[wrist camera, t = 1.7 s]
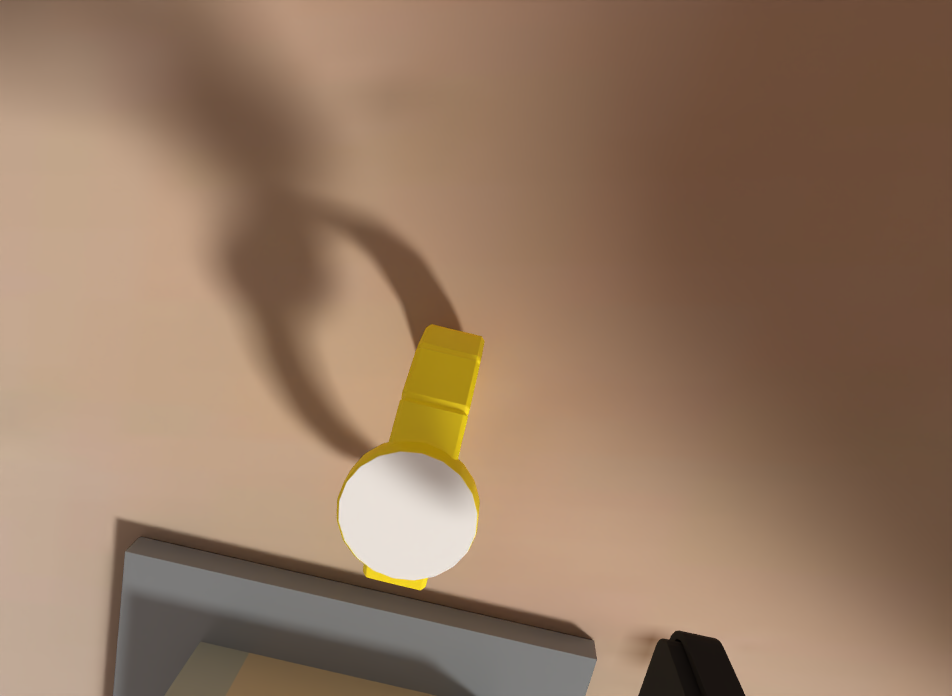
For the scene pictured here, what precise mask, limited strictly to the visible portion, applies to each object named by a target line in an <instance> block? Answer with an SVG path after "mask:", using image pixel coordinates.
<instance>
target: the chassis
mask: <svg viewBox="0 0 952 696" xmlns="http://www.w3.org/2000/svg"><path fill="white" fill-rule="evenodd" d="M596 661H597V657H596V651H595V644H594V641H593V640H589V639H585V638H580V637H576V636H572V635H567V634H563V633H559V632H554V631H550V630H545V629H541V628H537V627H532V626H528V625H524V624H519V623H515V622H511V621H506V620H502V619H497V618H493V617H489V616H484V615H480V614H476V613H471V612H467V611H463V610H458V609H454V608H450V607H445V606H441V605H436V604H432V603H428V602H423V601H419V600H415V599H410V598H406V597H402V596H397V595H393V594H388V593H384V592H380V591H375V590H371V589H367V588H362V587H358V586H354V585H349V584H345V583H340V582H336V581H332V580H327V579H323V578H319V577H314V576H310V575H306V574H301V573H297V572H292V571H288V570H284V569H279V568H275V567H271V566H266V565H262V564H258V563H253V562H249V561H245V560H240V559H236V558H231V557H227V556H223V555H218V554H214V553H210V552H205V551H201V550H197V549H192V548H188V547H183V546H179V545H175V544H170V543H166V542H162V541H157V540H153V539H149V538H144V537H139V538H138V539H137V540H136V541H135V542H134V543H133V544H132V545H131V546H130V547H129V548H128V549H127V550H126V551H125V560H124V571H123V583H122V595H121V607H120V619H119V631H118V642H117V654H116V666H115V678H114V690H113V696H585V695H586V692H587V689H588V686H589V683H590V679H591V676H592V673H593V670H594V667H595V664H596Z"/></svg>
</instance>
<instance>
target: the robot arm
mask: <svg viewBox="0 0 952 696" xmlns="http://www.w3.org/2000/svg"><path fill="white" fill-rule="evenodd" d="M638 696H745V694H744V691H743V689H742V687H741V685H740V683H739V680H738V678H737V676H736V674H735V672H734V669H733V667H732V665H731V663H730V661H729V658H728V656H727V654H726V652H725V650H724V647H723V646H722V644H721V642H720V641H719V640H717V639H716V638H711V637H706V636H702V635H697V634H692V633H687V632H683V631H675V632H674V633H673V634H672V635H671V638H670V640H668V639H660V640H659V641H658V643H657V645H656V647H655V650H654V653H653V656H652V659H651V661H650V664H649V667H648V670H647V673H646V676H645V678H644V681H643V684H642V687H641V690H640V693H639V695H638Z"/></svg>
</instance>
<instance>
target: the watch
mask: <svg viewBox="0 0 952 696" xmlns="http://www.w3.org/2000/svg"><path fill="white" fill-rule="evenodd" d="M483 347H484V339H483V338H482V336H478V335H474V334H470V333H466V332H462V331H458V330H454V329H449V328H445V327H441V326H437V325H433V324H431V325H429V326H428V327H426V329H425V331H424V333H423V335H422V337H421V340H420V342H419V344H418V347H417V349H416V352H415V355H414V358H413V361H412V364H411V367H410V370H409V373H408V376H407V380H406V383H405V386H404V389H403V392H402V399H401V400H400V402H399V406H398V410H397V413H396V417H395V421H394V425H393V428H392V432H391V436H390V439H389V442H388V443H384V444H381V445H379V446H378V447H376V448H374V449H372V450H371V451H369V452H367V453H366V454H364V455H363V456H362V457H361V458H360V460H359V461H358V462H357V463H356V464H355V465H354V466H353V468H352V469H351V471H350V472H349V474H348V476H347V478H346V479H345V481H344V483H343V486H342V488H341V491H340V493H339V496H338V499H337V522H338V526H339V529H340V532H341V535H342V538H343V540H344V542H345V543H346V545H347V546H348V548H349V549H350V550H351V552H352V553H353V555H354V556H355V557H356V558H357V559H358V560H360V561H361V562H362V563H363V564H364V566H363V572H364V574H365V576H366V577H367V578H371V579H375V580H379V581H383V582H387V583H391V584H396V585H400V586H404V587H408V588H412V589H416V590H422V589H423V588H425V586H426V583H427V579H428V578H429V577H435V576H437V575H439V574H441V573H443V572H444V571H446V570H448V569H450V568H452V567H454V566H455V565H456V564H457V563H458V562H459V560H460V559H461V558H462V557H463V556H464V555H465V554H466V553H467V552H468V551H469V549H470V547H471V544H472V542H473V540H474V538H475V536H476V533H477V526H478V515H479V504H480V501H479V496H478V492H477V488H476V485H475V482H474V479H473V478H472V476H471V475H470V473H469V472H468V470H467V469H466V467H465V465H464V464H463V463H462V462H461V461H460V460H459V459H458V456H459V452H460V448H461V444H462V439H463V435H464V431H465V427H466V423H467V418H468V416H467V415H468V414H469V410H470V405H471V401H472V397H473V392H474V388H475V384H476V379H477V375H478V370H479V366H480V361H481V357H482V352H483Z"/></svg>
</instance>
